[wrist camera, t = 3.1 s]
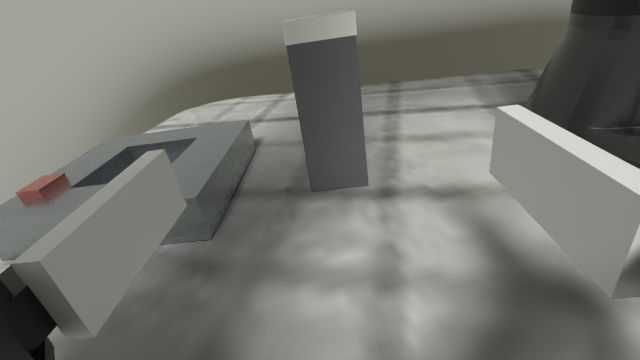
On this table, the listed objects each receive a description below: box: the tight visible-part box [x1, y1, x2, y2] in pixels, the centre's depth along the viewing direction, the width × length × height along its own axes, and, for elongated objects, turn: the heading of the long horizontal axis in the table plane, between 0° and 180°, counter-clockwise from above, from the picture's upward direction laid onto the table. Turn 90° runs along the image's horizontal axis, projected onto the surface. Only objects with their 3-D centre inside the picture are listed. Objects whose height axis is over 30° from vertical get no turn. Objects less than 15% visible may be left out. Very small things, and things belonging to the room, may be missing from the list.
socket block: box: [0, 120, 256, 260], centre depth 26 cm, size 14×14×4 cm
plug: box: [281, 10, 368, 192], centre depth 23 cm, size 4×5×11 cm
